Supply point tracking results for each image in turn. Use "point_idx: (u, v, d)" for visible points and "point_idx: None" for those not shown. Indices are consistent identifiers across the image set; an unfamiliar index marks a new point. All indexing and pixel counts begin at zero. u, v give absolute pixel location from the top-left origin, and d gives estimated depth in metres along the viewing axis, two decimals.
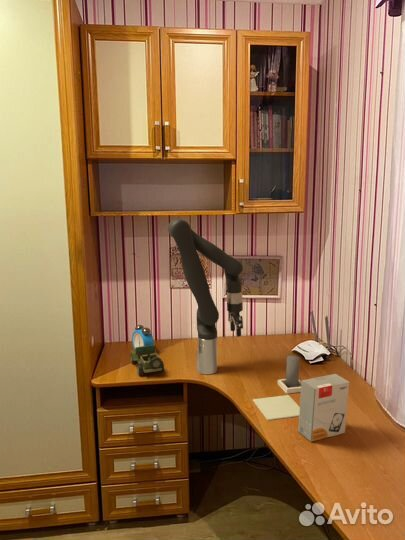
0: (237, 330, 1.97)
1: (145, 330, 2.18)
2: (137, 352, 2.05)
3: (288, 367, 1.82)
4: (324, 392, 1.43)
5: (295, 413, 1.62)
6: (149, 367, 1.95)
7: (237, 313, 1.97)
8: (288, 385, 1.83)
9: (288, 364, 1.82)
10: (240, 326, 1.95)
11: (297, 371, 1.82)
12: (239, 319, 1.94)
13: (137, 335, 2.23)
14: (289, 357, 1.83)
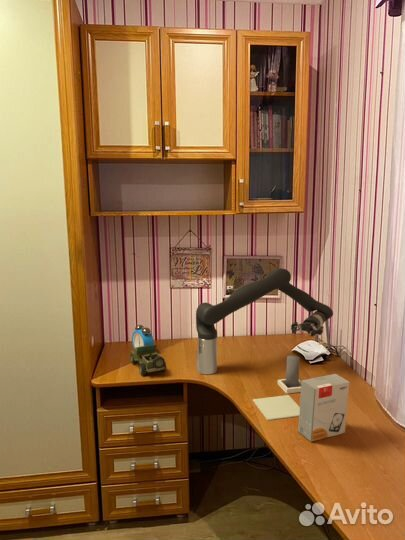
0: (314, 331, 1.91)
1: (145, 330, 2.18)
2: (138, 352, 2.05)
3: (288, 367, 1.82)
4: (324, 392, 1.43)
5: (295, 413, 1.62)
6: (152, 366, 1.96)
7: (317, 327, 1.98)
8: (288, 385, 1.83)
9: (288, 364, 1.82)
10: (320, 332, 1.92)
11: (297, 371, 1.82)
12: (322, 329, 1.94)
13: (137, 335, 2.23)
14: (289, 357, 1.83)
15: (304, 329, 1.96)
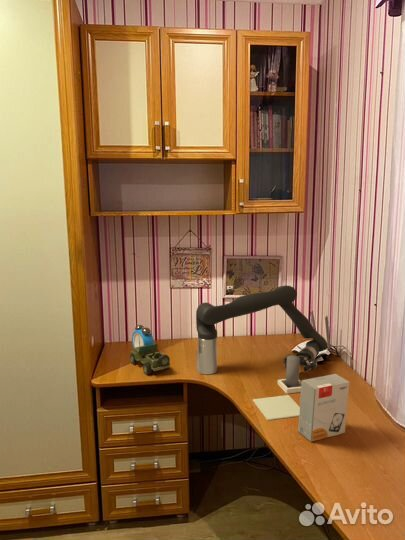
0: (307, 366, 1.87)
1: (145, 330, 2.18)
2: (140, 352, 2.06)
3: (288, 367, 1.82)
4: (324, 392, 1.43)
5: (295, 413, 1.62)
6: (157, 365, 1.97)
7: (311, 360, 1.94)
8: (288, 385, 1.83)
9: (288, 364, 1.82)
10: (314, 366, 1.88)
11: (297, 371, 1.82)
12: (316, 364, 1.91)
13: (137, 335, 2.23)
14: (289, 357, 1.83)
15: None
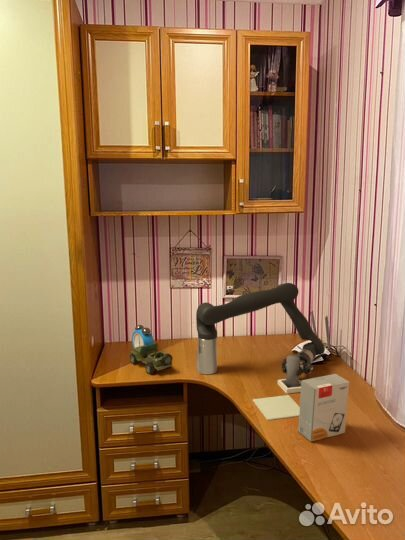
0: (300, 370, 1.82)
1: (145, 330, 2.18)
2: (141, 352, 2.06)
3: (288, 367, 1.82)
4: (324, 392, 1.43)
5: (295, 413, 1.62)
6: (160, 364, 1.98)
7: (307, 364, 1.90)
8: (288, 385, 1.83)
9: (288, 364, 1.82)
10: None
11: None
12: (311, 368, 1.85)
13: (137, 335, 2.23)
14: (289, 357, 1.83)
15: None
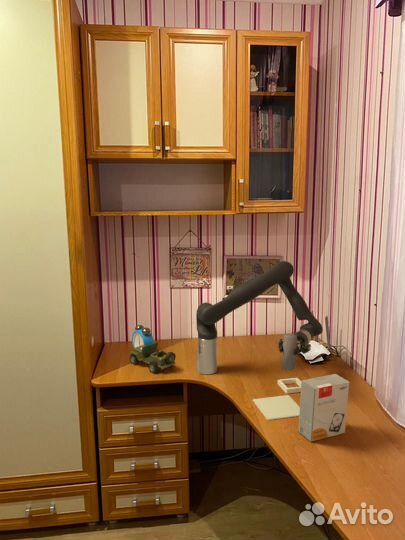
0: (297, 349, 1.75)
1: (145, 330, 2.18)
2: (142, 351, 2.06)
3: (285, 346, 1.74)
4: (324, 392, 1.43)
5: (295, 413, 1.62)
6: (164, 363, 2.00)
7: (305, 344, 1.82)
8: (285, 365, 1.76)
9: (285, 343, 1.74)
10: (304, 350, 1.76)
11: None
12: (309, 348, 1.78)
13: (137, 335, 2.23)
14: (286, 335, 1.75)
15: None
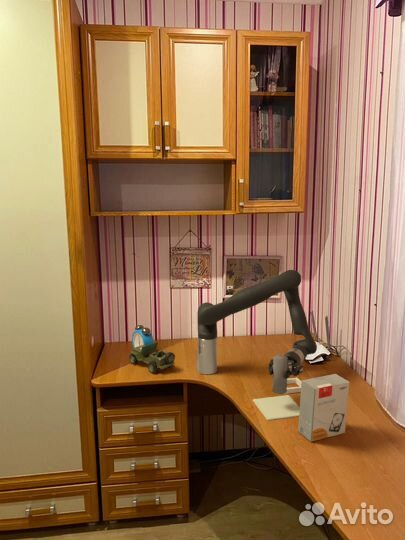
0: (288, 371, 1.64)
1: (145, 330, 2.18)
2: (142, 351, 2.06)
3: (275, 368, 1.63)
4: (324, 392, 1.43)
5: (295, 413, 1.62)
6: (163, 363, 2.00)
7: (297, 365, 1.71)
8: (275, 388, 1.65)
9: (275, 365, 1.63)
10: None
11: None
12: (301, 369, 1.67)
13: (137, 335, 2.23)
14: (276, 357, 1.64)
15: None
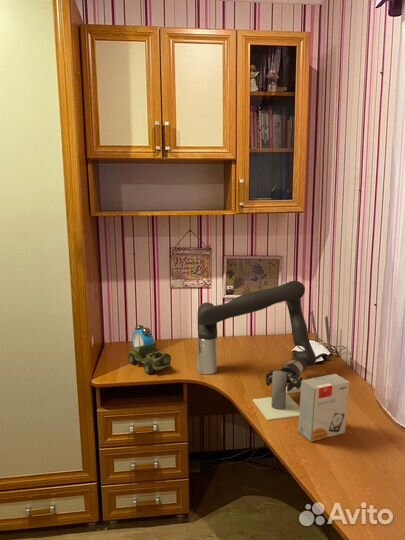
0: (291, 384, 1.65)
1: (145, 330, 2.18)
2: (140, 352, 2.06)
3: (274, 384, 1.65)
4: (324, 392, 1.43)
5: (295, 413, 1.62)
6: (159, 364, 1.98)
7: (296, 377, 1.72)
8: (274, 404, 1.66)
9: (274, 381, 1.64)
10: (298, 385, 1.66)
11: (284, 388, 1.64)
12: None
13: (137, 335, 2.23)
14: (275, 373, 1.66)
15: None
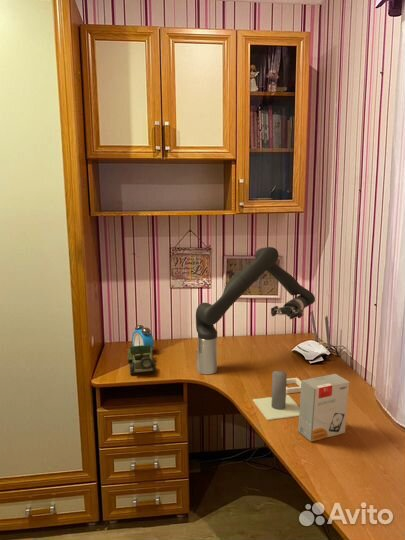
0: (293, 314, 1.90)
1: (145, 330, 2.18)
2: (132, 351, 2.07)
3: (274, 384, 1.65)
4: (324, 392, 1.43)
5: (295, 413, 1.62)
6: (140, 367, 1.96)
7: (297, 310, 1.97)
8: (274, 404, 1.66)
9: (274, 381, 1.64)
10: (300, 315, 1.91)
11: (284, 388, 1.64)
12: (302, 313, 1.94)
13: (137, 335, 2.23)
14: (275, 373, 1.66)
15: (284, 312, 1.95)
